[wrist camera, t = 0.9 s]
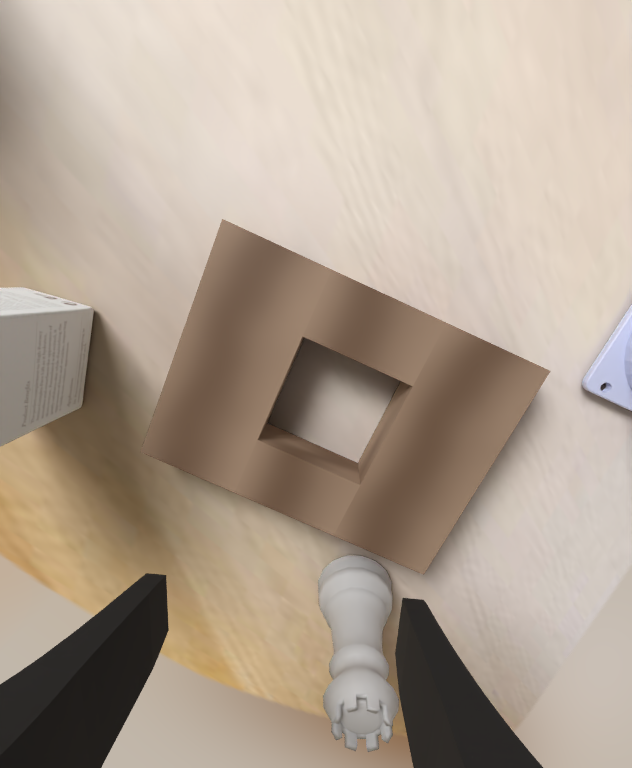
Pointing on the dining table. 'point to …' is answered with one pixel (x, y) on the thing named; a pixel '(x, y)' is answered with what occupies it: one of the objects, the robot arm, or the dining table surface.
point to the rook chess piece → (358, 650)
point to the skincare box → (40, 359)
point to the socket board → (361, 343)
